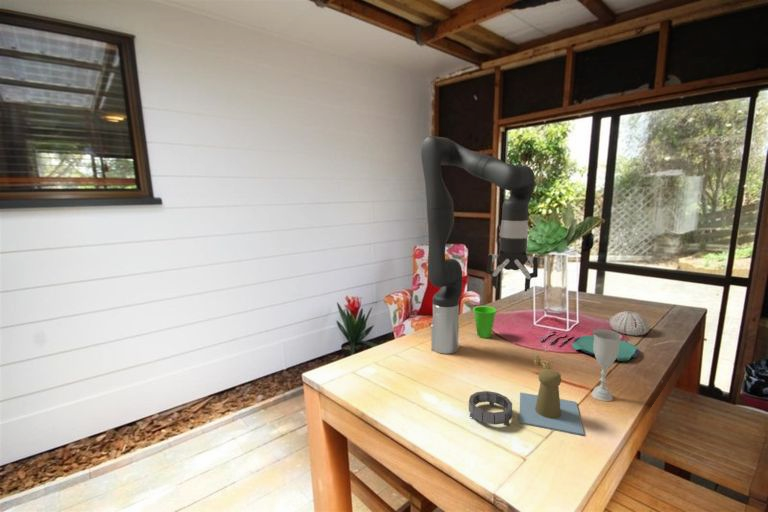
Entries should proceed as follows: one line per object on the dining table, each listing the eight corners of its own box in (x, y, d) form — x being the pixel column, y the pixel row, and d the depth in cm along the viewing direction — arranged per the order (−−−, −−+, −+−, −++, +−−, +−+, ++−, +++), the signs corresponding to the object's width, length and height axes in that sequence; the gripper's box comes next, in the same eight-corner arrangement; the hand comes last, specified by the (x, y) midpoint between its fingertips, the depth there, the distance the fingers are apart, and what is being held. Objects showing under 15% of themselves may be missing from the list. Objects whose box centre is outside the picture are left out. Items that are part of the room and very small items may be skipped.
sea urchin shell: (654, 332, 142) (656, 313, 140) (640, 340, 134) (642, 320, 133) (618, 323, 153) (619, 305, 151) (602, 330, 145) (604, 311, 144)
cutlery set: (631, 369, 113) (631, 362, 113) (536, 344, 134) (536, 338, 134) (644, 350, 127) (644, 344, 126) (556, 330, 148) (556, 325, 148)
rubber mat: (519, 423, 87) (519, 421, 87) (520, 393, 100) (520, 392, 100) (583, 435, 82) (584, 434, 82) (576, 403, 95) (576, 401, 95)
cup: (498, 334, 143) (499, 307, 142) (492, 341, 136) (493, 314, 134) (476, 330, 148) (477, 304, 146) (469, 337, 141) (469, 310, 139)
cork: (563, 419, 88) (566, 378, 86) (537, 417, 89) (539, 376, 87) (557, 405, 93) (560, 366, 92) (533, 403, 95) (535, 364, 93)
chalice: (616, 406, 93) (622, 341, 90) (587, 399, 97) (591, 336, 94) (616, 393, 99) (621, 331, 96) (588, 386, 103) (592, 327, 100)
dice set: (546, 370, 114) (546, 365, 114) (530, 365, 118) (530, 360, 117) (551, 365, 118) (552, 359, 118) (535, 360, 121) (536, 355, 121)
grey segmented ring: (466, 422, 88) (466, 409, 87) (472, 400, 98) (472, 388, 97) (510, 431, 84) (511, 418, 84) (512, 407, 94) (512, 395, 93)
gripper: (487, 236, 103) (484, 290, 106) (540, 238, 98) (536, 295, 101) (489, 233, 110) (487, 284, 113) (539, 235, 105) (536, 288, 108)
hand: (510, 289), depth 107 cm, fingers open, 8 cm apart
